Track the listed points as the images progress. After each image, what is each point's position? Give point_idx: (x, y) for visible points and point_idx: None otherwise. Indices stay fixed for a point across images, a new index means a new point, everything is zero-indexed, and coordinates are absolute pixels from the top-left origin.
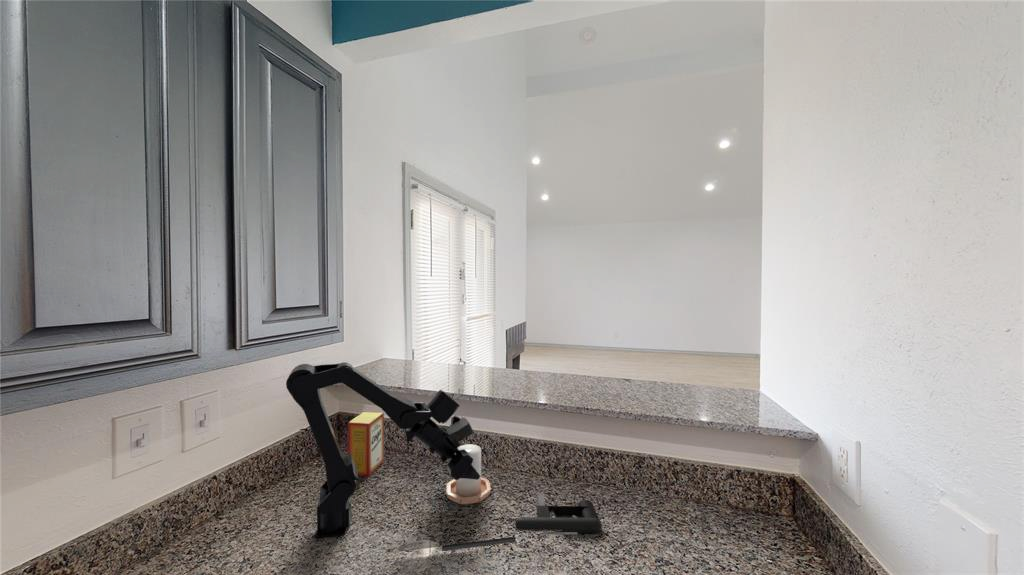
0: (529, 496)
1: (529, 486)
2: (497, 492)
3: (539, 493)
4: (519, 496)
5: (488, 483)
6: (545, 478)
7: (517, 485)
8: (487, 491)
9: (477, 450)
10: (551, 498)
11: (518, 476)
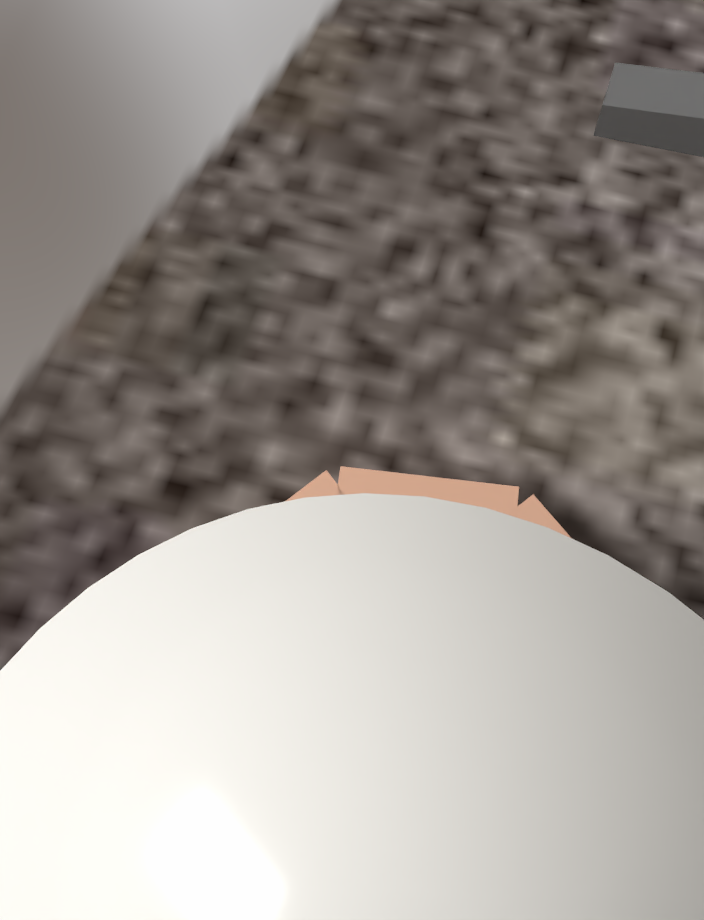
0: (578, 189)
1: (433, 153)
2: (445, 424)
3: (633, 93)
4: (558, 262)
5: (403, 484)
6: (358, 19)
7: (388, 237)
8: (562, 533)
9: (504, 659)
10: (646, 49)
11: (255, 196)
